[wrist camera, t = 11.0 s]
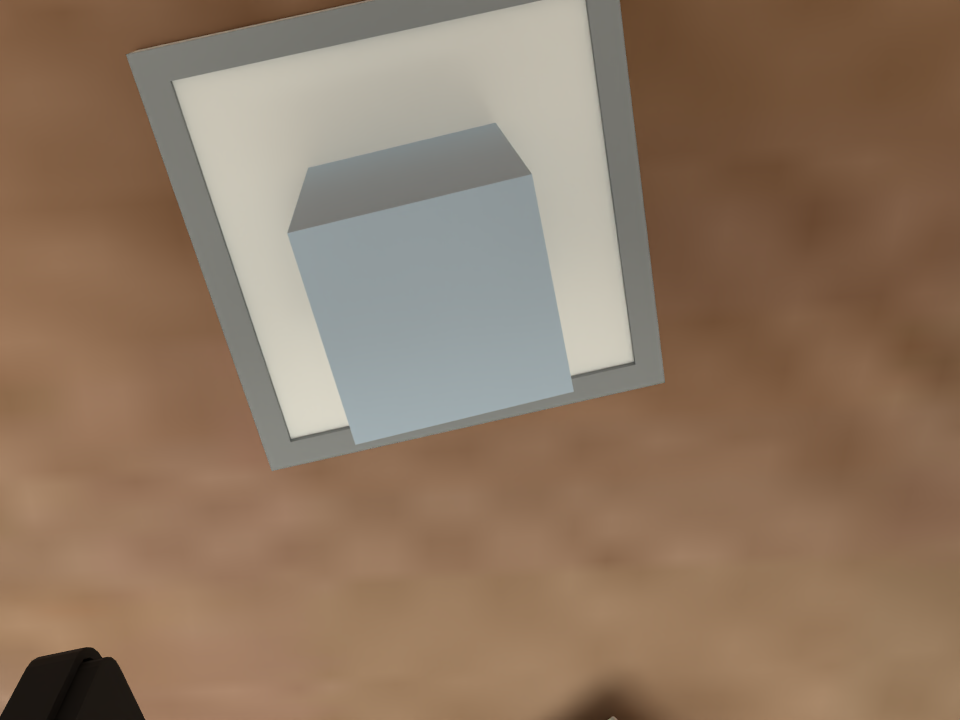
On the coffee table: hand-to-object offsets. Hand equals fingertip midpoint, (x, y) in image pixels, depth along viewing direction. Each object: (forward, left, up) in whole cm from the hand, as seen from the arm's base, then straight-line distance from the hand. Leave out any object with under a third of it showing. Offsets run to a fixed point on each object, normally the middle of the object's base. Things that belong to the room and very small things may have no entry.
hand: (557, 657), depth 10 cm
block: (+1, 0, -16) cm, 16 cm away
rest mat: (+1, 0, -17) cm, 17 cm away
